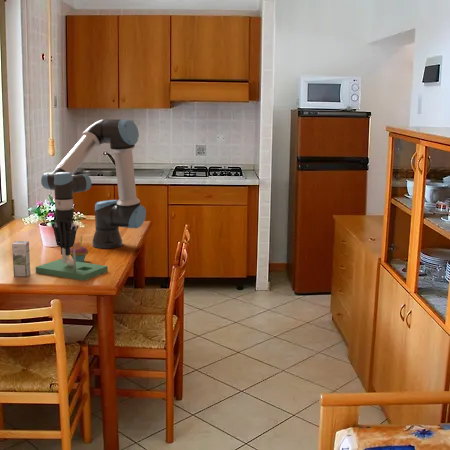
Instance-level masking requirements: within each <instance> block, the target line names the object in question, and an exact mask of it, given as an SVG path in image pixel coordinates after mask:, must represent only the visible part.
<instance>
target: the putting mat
mask: <svg viewBox="0 0 450 450" xmlns="http://www.w3.org/2000/svg"><path fill="white" fill-rule="evenodd" d="M72 248H73V257H74V265H73V266H72V267H69V266H67V264H66V263H62V258H60V259H56V260H53V261H50V262H47V263H43V264H41V265H38V266H35V273H36V274H42V275H48V276H54V277H59V278H65V279H72V280H77V281H83V282H84V281H88V280H90V279H93V278H95V277H97V276H100V275H103V274H105V273H106V274H107V273H109V272H108V270H109V268H108V267H109V266H108V265H102V264H97V263H90V262H85V261H84V262H77V261H76V258H75V250H77V249H80V242H77V243H74V244H73V247H72Z"/></svg>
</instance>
